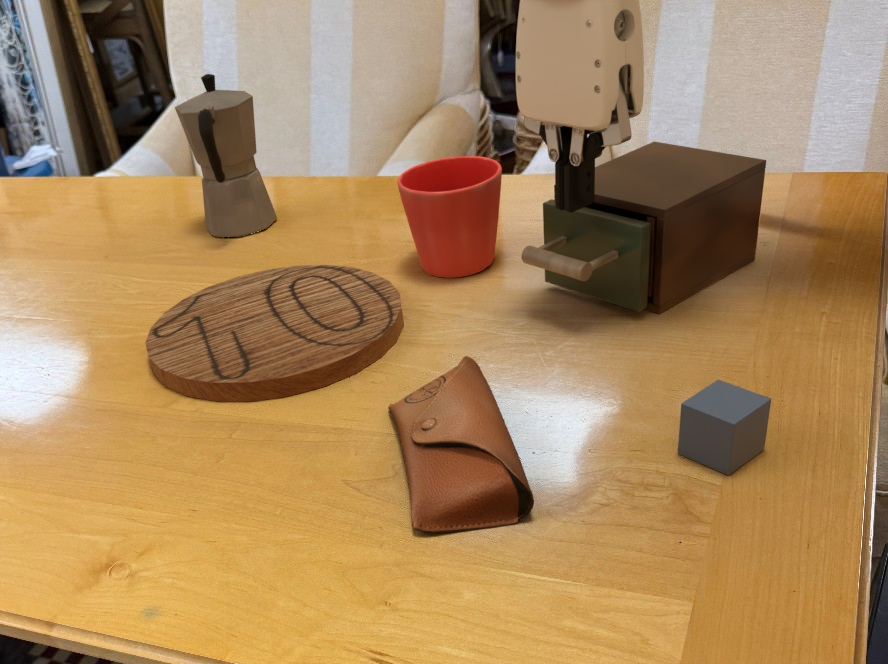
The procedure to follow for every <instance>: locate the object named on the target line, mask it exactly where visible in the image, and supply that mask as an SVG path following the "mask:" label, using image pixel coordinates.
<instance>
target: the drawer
mask: <svg viewBox="0 0 888 664" xmlns="http://www.w3.org/2000/svg"><path fill="white" fill-rule="evenodd" d="M657 218H658V217H654V216H650V215H646V214H641V213H637V212H633V211H629V210H624V209H620V208H616V207H611V206H607V205H603V204H599V203H594V202H593V203H592V204H590V205H588V206H586V207H583V208H581V209H579V210H577V211H575V212H572V213H571V212H567V211H565V209H564V210H559V209H556V206H555V200H554V199H549V200H547V201H544V202H542V221H543V223H542V224H543V225H542V226H543V244H542V245H540V246H538V247H537V246H533V245H527V246H525V247H524V249H523V250H522V252H521V261H522V262H523V264H528V265H529V266H533V267H535V268H539V269H543V270H544V282H545V283H548V284H552V285H555V286H558V287H561V288H564V289H567V290H570V291H573V292H576V293H579V294H582V295H586V296H588V297H592V298H594V299H598V300H602V301H604V302H607V303H609V304H610V303H611V304H613V305H616V306H620V307H623V308H625V309H628V310H632V311H635V312H641V311H643V310H646V309H645V308H646V307H647V298H648V296H649V297H651V296H653V295H654V275H655V254H656V233H657Z"/></svg>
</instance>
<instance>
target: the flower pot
mask: <svg viewBox="0 0 888 664" xmlns="http://www.w3.org/2000/svg"><path fill="white" fill-rule="evenodd" d="M502 175H503V168H502V164H500V162H498V161H497V160H495V159H493V158H491V157H490V158H489V157H486V156H478V155H477V156H476V155H471V156H470V155H462V156H461V155H460V156H459V155H458V156H450V157H444V158H438V159H433V160H429V161H426V162H421V163H419V164H416V165H414V166H412V167H410V168H408V169H406V170H405V171H404V172H402V173H401V174H400V175H399V176H398V177H397V187H398V192H399V196H400V200H401V203H402V206H403V210H404V213H405V217H406V220H407V222H408V226H409V229H410V233H411V236H412V239H413V242H414V245H415V249H416V252H417V255H418V259H419V263H420V265H421V267H422V270H424V271H425V273H427V274H428V275H431V276H433V277H438V278H447V279H449V278H461V277H467V276H472V275H474V274H478V273H480V272H481V271H484V270H485V269H486V268H487V267H489V266H491V265H492V263H493V261H494V258H495V252H496V244H497V238H498V237H497V235H498V226H499V225H498V224H499V215H500V214H499V213H500V203H501V202H500V201H501V191H502V178H503V177H502Z"/></svg>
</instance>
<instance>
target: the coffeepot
mask: <svg viewBox="0 0 888 664" xmlns="http://www.w3.org/2000/svg"><path fill="white" fill-rule="evenodd" d="M200 80H201V82H202V84H203V87H204V90H205V92H202V93H200V94H198V95H196V96H193V97H191V98H189V99H187V100H185V101H184V102H181V103H180V104H177V105H176V106H174V110H175V112H176V114H177V117H178V119H179V122H180V125H181V127H182V129H183V132H184V134H185V137H186V140H187V142H188V144H189V147H190V149H191V152H192V154H193V157H194V160H195V161H196V163H197V164H198V165H199V166H200V170H201V173H202V179H201V185H202V186H201V187H202V199H203V210H204V211H203V212H204V220H205V221H204V223H205V228H206V230H207V231H208V233H209V235H211V236H212V235H213V236H212V237H214V238H219V237H223V238H222V239H225V238H224V237H228V238H227V239H230V238H229V237H237V238H242V237H241V236H243V237H245V236H244V235H248V234H251V233H254V232H257V231H260V230H263V231H265V230H267V229H268V228H267V227H269V226H270V225H271V224H272V223H273V222H274V221H276V220H277V219H278V216H277V214H276V211H275V208H274V206H273V203H272V201H271V198H270V195H269V192H268V190H267V187H266V185H265V182H264V180H263V177H262V174H261V171H260V170H259V169H258V167H257V164H256V160H255V155H256V154H257V152H258V151H257V139H256V125H255V124H256V123H255V110H254V96H253V95H252V94H250V93H249V92H247V91H245V90H231V89H230V90H229V89H216V75H215V74H211V73H206V74H204V75H203V76H201V77H200ZM274 223H275V222H274ZM274 223H273V224H274ZM273 224H272V225H273ZM272 225H271V226H272ZM271 226H270V227H271ZM270 227H269V228H270ZM266 228H267V229H266ZM264 229H265V230H264ZM248 236H249V235H248Z"/></svg>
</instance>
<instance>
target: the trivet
mask: <svg viewBox="0 0 888 664" xmlns="http://www.w3.org/2000/svg"><path fill="white" fill-rule="evenodd" d="M404 326H405V323H404V316H403V308H402V299H401V293H400V292H399V290H398V289H397V288H396V287H395V285H394V284H393V283H392V282H391V281H390V280H389V279H387V278H384V277H382V276H380V275H379V274H377V273H375V272H372V271H369V270H365V269H361V268H357V267H353V266H345V265H344V266H343V265H332V264H306V265H305V264H304V265H303V264H302V265H291V266H284V267H276V268H270V269H264V270H259V271H255V272H252V273H251V272H250V273H247V274H243V275H238V276H235V277H232V278H229V279H227V280H224V281H221V282H218V283H215V284H212V285H210V286H207V287H205V288H203V289H201V290H198V291H197V292H195V293H193V294H190V295H189V296H187V297H185V298H183V299H182V300H180V301H179V302H177V303H176V304H174V305H173V306H172V307H170V308H169V309H167V310H166V311H164V312H163V313H162V315H161V316H160V317H159V318H158V319H157V320H156V321H155V322H154V323H153V325H152V326H151V327H150V328H149V332H148V334H147V337H146V339H145V343H144V344H145V347H146V352H147V356H148V359H149V363H150V367H151V369H152V372H153V375H154V377H156V378H157V380H159V381H160V382H161V383H162V384H163V385H164V386H165V388H167V389H170V390H172V391H174V392H177V393H179V394H181V395H184V396H186V397H189V398H194V399H199V400H200V399H201V400H205V401H213V402H258V401H266V400H273V399H280V398H281V399H282V398H286V397H287V398H288V397H291V396H296V395H299V394H304V393H307V392H310V391H315V390H318V389H321V388H325V387H328V386H330V385H333V384H334V383H337V382H340V381H342V380H344V379H347V378H349V377H351V376H354V375H356V374H358V373H360V372H361V371H362V370H364V369H365V368H367V367H368V366H371V365H372V364H373V363H375V362H377V361H378V360H379V359H381V358H383V356H384V355H385V354H386V353H387V352H388V351H389V350H390V349H391V348H392V347H393V346H394V345H395V344H396V343H397V342H398V340H399V339H400V335H401V334H402V333H401V332H402V331H403V328H404Z"/></svg>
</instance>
